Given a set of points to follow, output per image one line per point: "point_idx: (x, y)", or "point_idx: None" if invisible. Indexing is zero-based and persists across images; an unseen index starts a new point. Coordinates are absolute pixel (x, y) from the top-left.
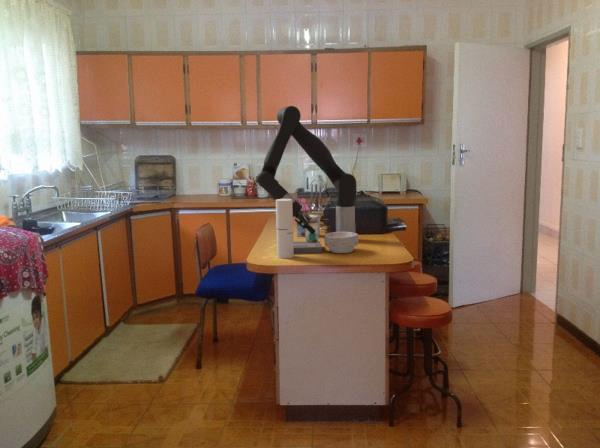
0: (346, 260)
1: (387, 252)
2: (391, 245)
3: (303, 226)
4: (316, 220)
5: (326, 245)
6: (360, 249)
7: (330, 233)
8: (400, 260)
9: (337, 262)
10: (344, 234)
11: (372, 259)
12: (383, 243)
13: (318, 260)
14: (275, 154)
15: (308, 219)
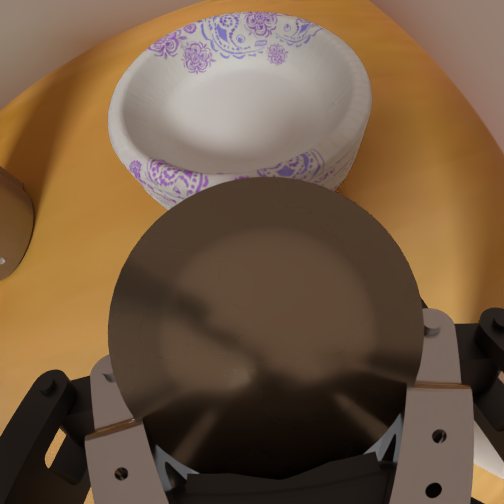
0: (417, 90)
1: None
2: (101, 52)
3: (495, 377)
4: (259, 206)
5: (338, 185)
6: None
7: (174, 168)
8: None
9: (463, 116)
10: (137, 104)
11: (348, 29)
12: (68, 82)
13: (486, 198)
14: None
15: (179, 454)
